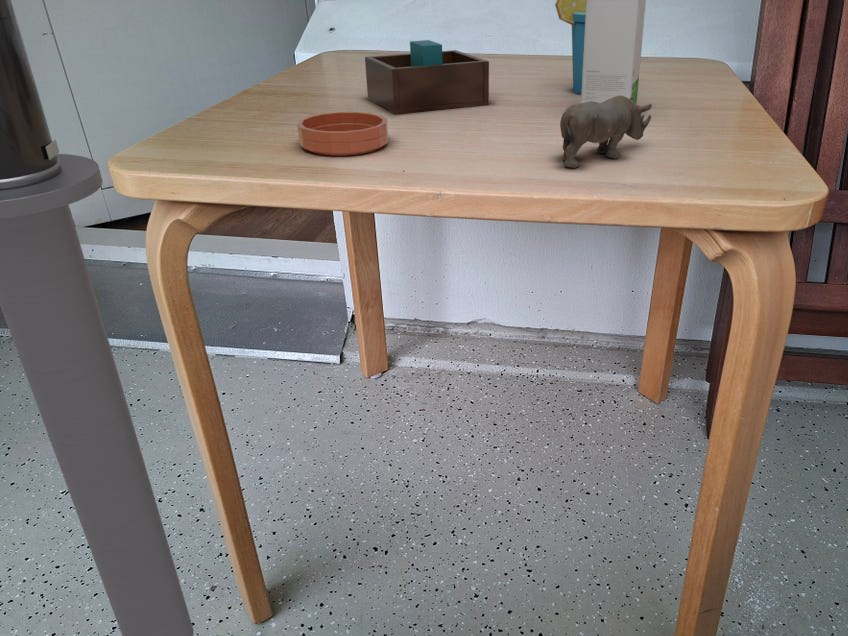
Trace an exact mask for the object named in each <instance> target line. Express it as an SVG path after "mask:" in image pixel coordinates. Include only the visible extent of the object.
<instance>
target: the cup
mask: <svg viewBox="0 0 848 636" xmlns="http://www.w3.org/2000/svg"><path fill="white" fill-rule="evenodd" d="M555 9H556V12H557V16H558V19H559V20H561V21H562V22H565V23H566V24H568V25H571V51H572V52H571V53H572V55H571V56H572V91H573V92H574V93H575V94H578V95H581V93H582V74H583V55H584V36H585V17H586V0H556V2H555Z"/></svg>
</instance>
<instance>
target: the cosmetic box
mask: <svg viewBox="0 0 848 636" xmlns="http://www.w3.org/2000/svg"><path fill="white" fill-rule="evenodd" d="M646 2H647V0H586V17H585V36H584V55H583V74H582V93H581V94H580V104H581V103H585V102H589V101H593V102H597V103H602V102H604V101H606V100H608V99H611V98H613V97H615V96H619V95H621V96H625V97H627V98H628V99H630V98H631V97H632V98H633V99H634V103H635V104H637V105H638V94H639V82H640V71H641V70H640V69H641V61H642V60H641V58H642V51H643V49H642V48H643V38H644V37H643V35H644V26H645V25H644V24H645V13H646Z"/></svg>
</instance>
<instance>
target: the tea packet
mask: <svg viewBox="0 0 848 636" xmlns="http://www.w3.org/2000/svg"><path fill="white" fill-rule="evenodd" d="M409 51H410V53H409V54H410V55H411V67H412V66H425V65H437V64H443V62H442V51H443V44H441V43H439V42H436V41H432V40H430V39H425V40H422V39H421V40H410V41H409Z"/></svg>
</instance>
